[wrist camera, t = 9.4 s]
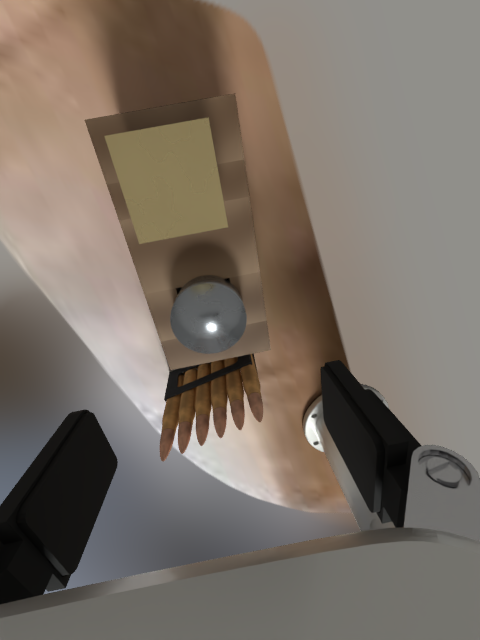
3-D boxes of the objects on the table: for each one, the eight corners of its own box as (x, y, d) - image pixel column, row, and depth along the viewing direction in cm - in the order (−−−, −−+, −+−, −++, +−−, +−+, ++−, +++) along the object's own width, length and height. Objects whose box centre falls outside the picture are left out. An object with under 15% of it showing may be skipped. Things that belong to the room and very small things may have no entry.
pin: (230, 254, 26) (239, 277, 17) (239, 303, 28) (251, 345, 19) (177, 264, 26) (160, 292, 17) (191, 313, 28) (181, 360, 19)
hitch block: (256, 315, 30) (270, 349, 22) (180, 330, 30) (170, 370, 22) (227, 131, 22) (235, 93, 15) (126, 149, 22) (84, 120, 15)
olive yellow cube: (224, 223, 18) (228, 227, 14) (155, 235, 18) (139, 244, 14) (209, 141, 16) (208, 117, 12) (132, 155, 16) (104, 135, 12)
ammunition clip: (247, 338, 31) (266, 409, 20) (253, 350, 32) (274, 424, 21) (169, 372, 32) (146, 458, 21) (176, 383, 32) (158, 471, 22)
